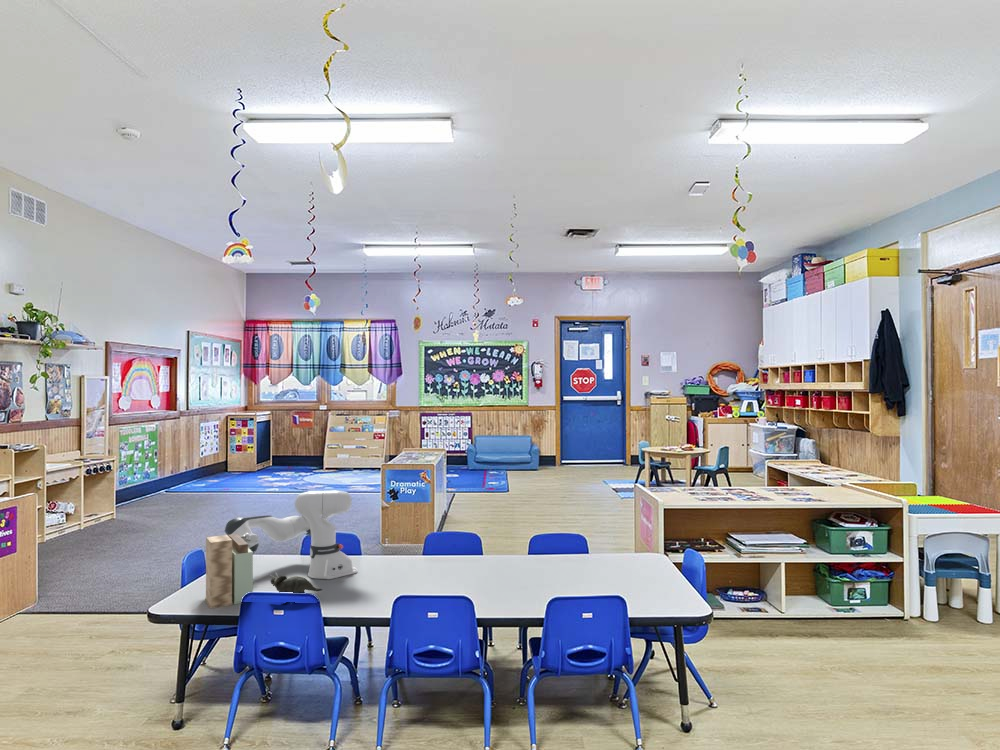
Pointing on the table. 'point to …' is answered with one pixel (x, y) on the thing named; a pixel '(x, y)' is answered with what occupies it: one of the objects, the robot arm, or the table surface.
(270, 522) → the robot arm
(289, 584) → the dinosaur figurine
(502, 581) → the table surface
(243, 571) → the pale green upright block
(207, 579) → the stand
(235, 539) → the bar
